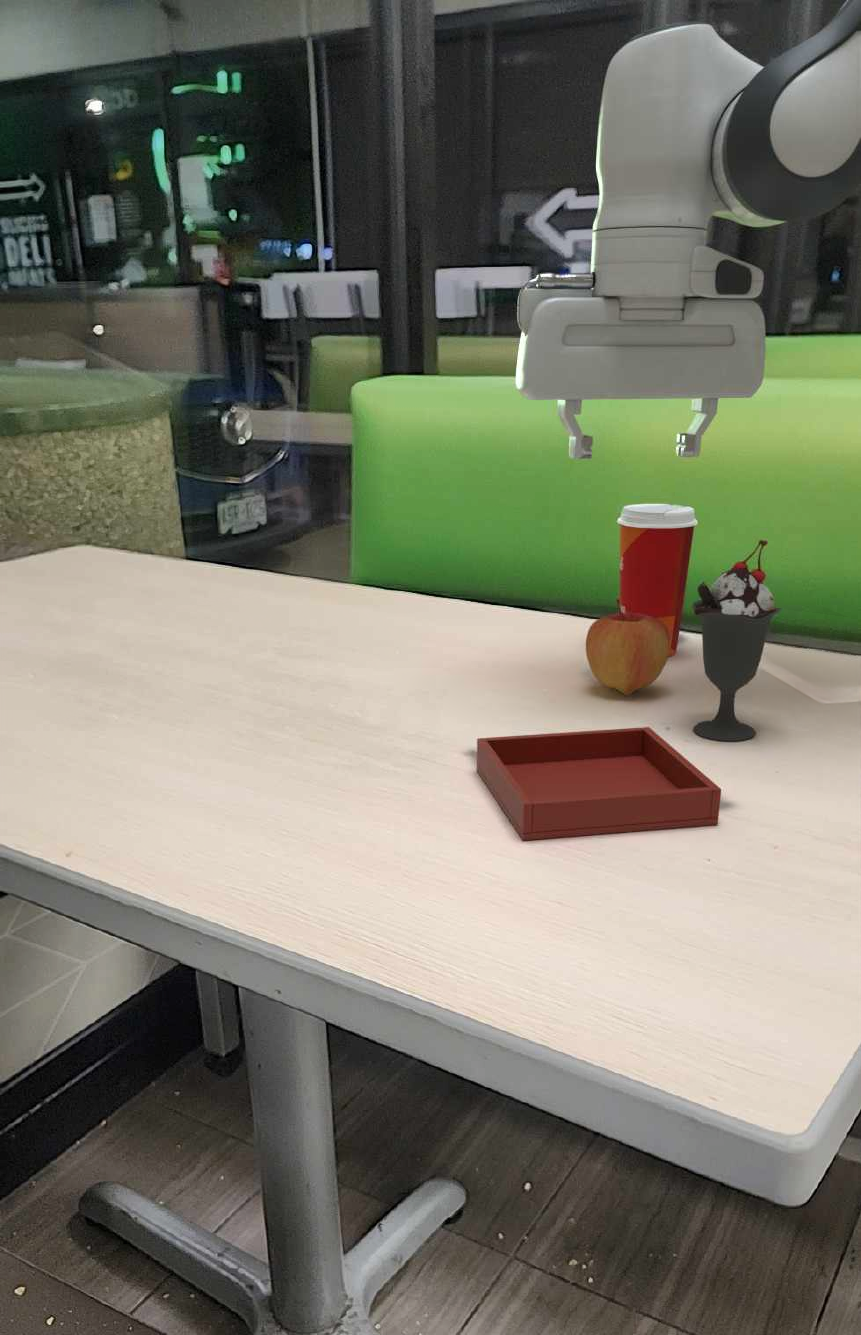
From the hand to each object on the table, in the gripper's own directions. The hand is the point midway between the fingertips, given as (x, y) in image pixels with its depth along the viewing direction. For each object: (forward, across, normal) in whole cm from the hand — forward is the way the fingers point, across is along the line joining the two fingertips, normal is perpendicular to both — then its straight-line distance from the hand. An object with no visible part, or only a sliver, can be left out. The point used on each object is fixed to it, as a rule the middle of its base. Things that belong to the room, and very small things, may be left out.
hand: (634, 457), depth 97 cm
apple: (+20, 0, -1) cm, 20 cm away
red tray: (+20, -11, -25) cm, 34 cm away
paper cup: (+20, +7, +12) cm, 25 cm away
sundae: (+20, +4, -14) cm, 25 cm away
